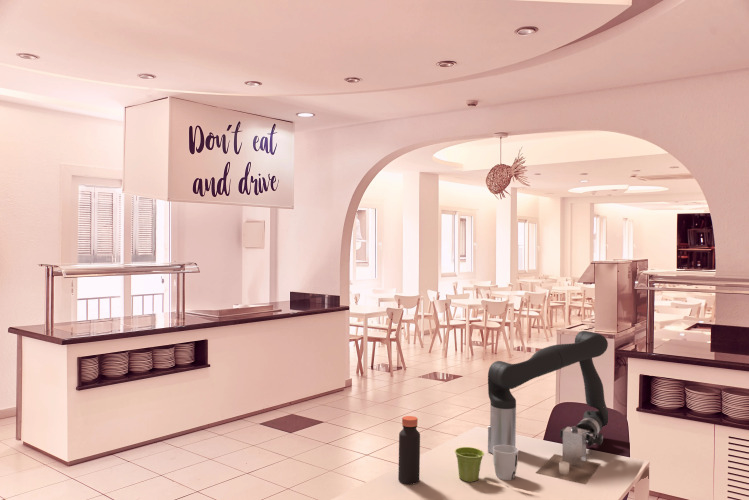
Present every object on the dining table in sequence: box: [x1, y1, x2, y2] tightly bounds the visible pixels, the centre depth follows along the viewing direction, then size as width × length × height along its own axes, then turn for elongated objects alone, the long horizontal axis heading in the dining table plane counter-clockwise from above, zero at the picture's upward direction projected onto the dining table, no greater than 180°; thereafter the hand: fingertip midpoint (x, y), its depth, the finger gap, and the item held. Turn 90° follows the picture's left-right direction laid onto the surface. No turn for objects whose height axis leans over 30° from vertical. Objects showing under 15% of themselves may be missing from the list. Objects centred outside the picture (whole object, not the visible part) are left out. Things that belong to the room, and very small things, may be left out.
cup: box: [492, 445, 519, 481], centre depth 184 cm, size 8×8×10 cm
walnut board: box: [535, 453, 601, 485], centre depth 193 cm, size 16×22×1 cm
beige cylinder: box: [559, 461, 569, 476], centre depth 188 cm, size 3×3×4 cm
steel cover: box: [562, 425, 587, 467], centre depth 199 cm, size 6×6×12 cm
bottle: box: [397, 415, 421, 485], centre depth 182 cm, size 7×7×20 cm
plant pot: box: [454, 446, 485, 483], centre depth 185 cm, size 9×9×9 cm
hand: (576, 441), depth 201 cm, fingers open, 8 cm apart
